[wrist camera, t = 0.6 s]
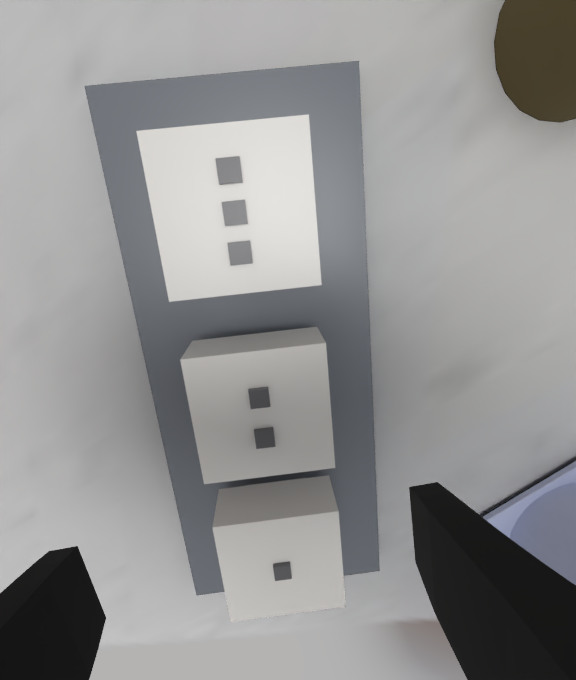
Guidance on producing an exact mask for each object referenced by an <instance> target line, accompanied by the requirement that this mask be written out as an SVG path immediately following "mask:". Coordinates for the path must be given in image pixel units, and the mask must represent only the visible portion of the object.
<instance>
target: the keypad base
mask: <svg viewBox="0 0 576 680" xmlns="http://www.w3.org/2000/svg"><path fill="white" fill-rule="evenodd" d="M85 90H86V95H87V99H88V104H89V109H90V113H91V118H92V122H93V127H94V131H95V136H96V140H97V145H98V149H99V154H100V159H101V163H102V168H103V172H104V177H105V181H106V186H107V190H108V195H109V199H110V204H111V209H112V213H113V218H114V222H115V227H116V231H117V236H118V240H119V245H120V249H121V254H122V259H123V263H124V268H125V272H126V277H127V281H128V286H129V290H130V295H131V299H132V304H133V309H134V313H135V318H136V322H137V327H138V331H139V336H140V340H141V345H142V349H143V354H144V359H145V363H146V368H147V372H148V377H149V381H150V386H151V390H152V395H153V399H154V404H155V409H156V413H157V418H158V422H159V427H160V431H161V436H162V440H163V445H164V450H165V454H166V459H167V463H168V468H169V472H170V477H171V481H172V486H173V490H174V495H175V500H176V504H177V509H178V513H179V518H180V522H181V527H182V531H183V536H184V540H185V545H186V550H187V554H188V559H189V563H190V568H191V572H192V577H193V581H194V586H195V590H196V595H203V594H210V593H218V592H225V591H224V586H223V581H222V575H221V570H220V565H219V560H218V554H217V549H216V544H215V539H214V534H213V528H212V527H213V521H214V515H215V509H216V503H217V497H218V492H219V489H224V488H232V487H240V486H248V485H256V484H264V483H272V482H280V481H288V480H296V479H304V478H312V477H320V476H328V475H329V477H330V481H331V485H332V488H333V492H334V496H335V500H336V503H337V507H338V511H339V523H340V536H341V549H342V563H343V576H345V575H352V574H360V573H367V572H374V571H380V569H379V544H378V520H377V495H376V470H375V446H374V421H373V396H372V372H371V347H370V322H369V297H368V273H367V248H366V223H365V199H364V174H363V149H362V125H361V100H360V75H359V61H353V62H342V63H331V64H320V65H309V66H298V67H287V68H276V69H265V70H254V71H243V72H232V73H221V74H210V75H200V76H189V77H178V78H167V79H156V80H145V81H134V82H123V83H112V84H101V85H90V86H85ZM308 114H309V123H310V136H311V150H312V163H313V176H314V190H315V203H316V216H317V230H318V243H319V256H320V269H321V283H322V285H318V286H309V287H300V288H291V289H282V290H273V291H263V292H254V293H245V294H236V295H227V296H218V297H209V298H200V299H191V300H181V301H172V302H169V299H168V294H167V288H166V283H165V278H164V273H163V267H162V262H161V257H160V252H159V247H158V241H157V236H156V231H155V226H154V221H153V215H152V210H151V205H150V200H149V195H148V189H147V184H146V179H145V174H144V168H143V163H142V158H141V153H140V148H139V142H138V137H137V132H136V131H140V130H151V129H161V128H172V127H182V126H193V125H203V124H214V123H224V122H235V121H245V120H256V119H266V118H277V117H287V116H297V115H308ZM309 327H317V328H318V329H319V331H320V333H321V335H322V337H323V338H324V340H325V342H326V350H327V363H328V376H329V389H330V403H331V416H332V429H333V443H334V456H335V468H331V469H323V470H315V471H307V472H299V473H291V474H283V475H275V476H267V477H259V478H251V479H243V480H235V481H227V482H219V483H211V484H204V481H203V476H202V471H201V466H200V461H199V455H198V450H197V445H196V440H195V434H194V429H193V424H192V419H191V414H190V408H189V403H188V398H187V393H186V388H185V382H184V377H183V372H182V367H181V361H180V359H181V358H182V356H183V354H184V353H185V351H186V350H187V348H188V347H189V345H190V344H191V342H192V341H194V340H203V339H212V338H221V337H230V336H238V335H247V334H256V333H265V332H274V331H283V330H291V329H300V328H309Z"/></svg>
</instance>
